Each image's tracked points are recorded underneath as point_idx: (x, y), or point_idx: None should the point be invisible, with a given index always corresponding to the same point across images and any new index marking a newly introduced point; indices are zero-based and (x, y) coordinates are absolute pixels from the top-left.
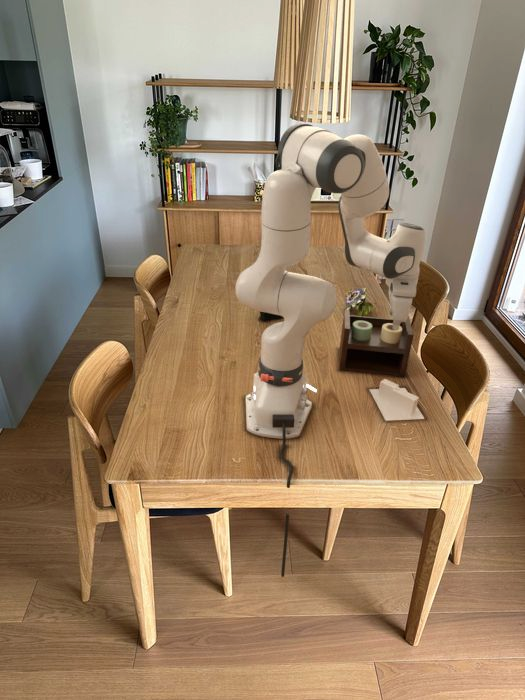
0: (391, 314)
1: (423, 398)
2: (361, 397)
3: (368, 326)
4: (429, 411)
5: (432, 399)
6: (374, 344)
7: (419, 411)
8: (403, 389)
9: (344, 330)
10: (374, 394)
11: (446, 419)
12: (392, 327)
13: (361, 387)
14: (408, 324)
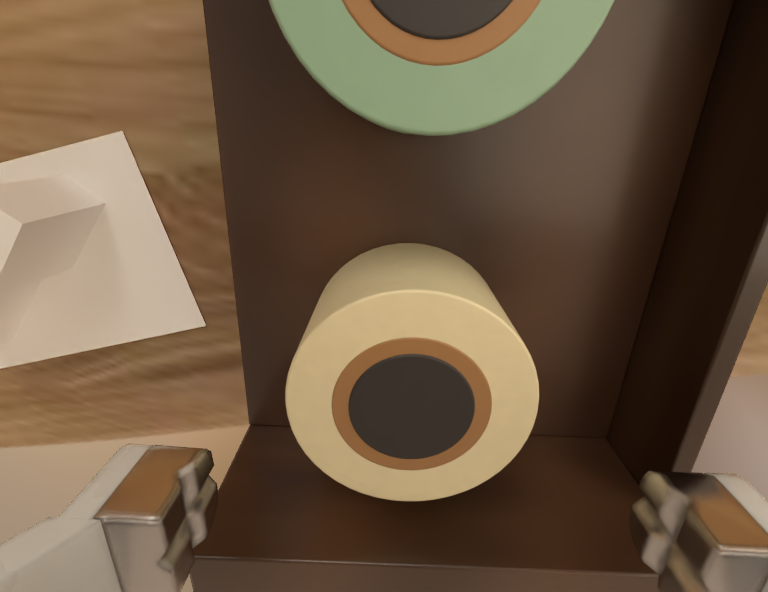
0: (650, 488)
1: (146, 389)
2: (20, 74)
3: (389, 55)
4: (55, 396)
5: (153, 422)
6: (254, 165)
7: (32, 359)
8: (189, 316)
9: None
10: (82, 159)
11: (29, 445)
12: (406, 411)
13: (127, 81)
14: (445, 589)
